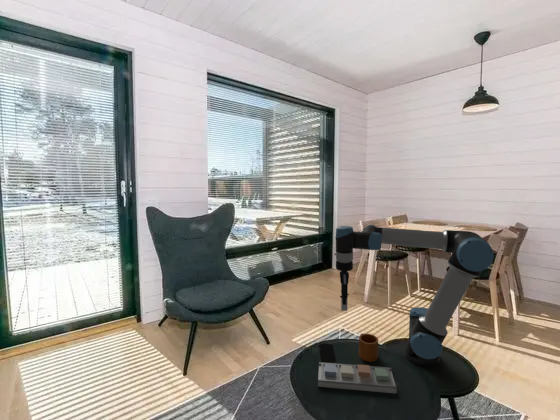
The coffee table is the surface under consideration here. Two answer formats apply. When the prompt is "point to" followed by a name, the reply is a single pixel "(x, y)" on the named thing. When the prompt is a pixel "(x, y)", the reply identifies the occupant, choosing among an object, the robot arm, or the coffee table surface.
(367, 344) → the mug
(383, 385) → the keypad
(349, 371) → the key cream
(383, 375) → the key sage
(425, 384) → the coffee table surface
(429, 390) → the coffee table surface
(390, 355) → the coffee table surface
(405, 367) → the coffee table surface
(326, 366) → the key blue
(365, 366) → the key terracotta
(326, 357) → the smartphone
